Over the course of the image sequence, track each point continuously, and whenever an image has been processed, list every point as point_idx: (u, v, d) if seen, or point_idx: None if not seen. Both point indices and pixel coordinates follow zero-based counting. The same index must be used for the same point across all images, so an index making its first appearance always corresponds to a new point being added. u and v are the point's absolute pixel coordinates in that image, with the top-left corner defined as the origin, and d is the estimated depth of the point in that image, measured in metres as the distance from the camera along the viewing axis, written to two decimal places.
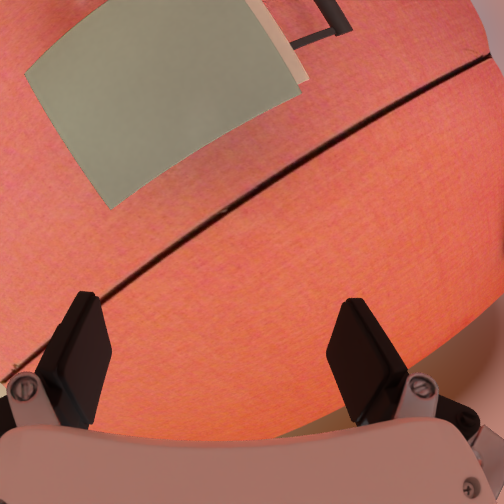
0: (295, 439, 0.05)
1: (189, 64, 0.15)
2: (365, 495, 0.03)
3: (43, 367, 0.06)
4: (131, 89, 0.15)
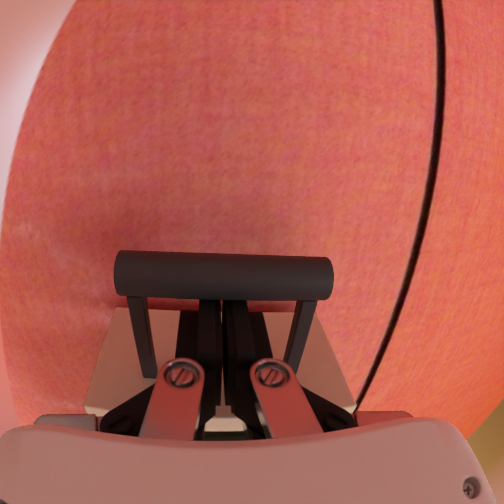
0: (295, 439, 0.05)
1: None
2: (365, 495, 0.03)
3: (202, 349, 0.08)
4: None
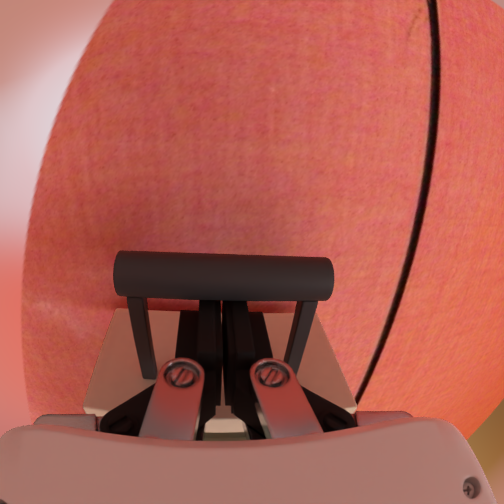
0: (295, 439, 0.05)
1: None
2: (365, 495, 0.03)
3: (202, 349, 0.08)
4: None
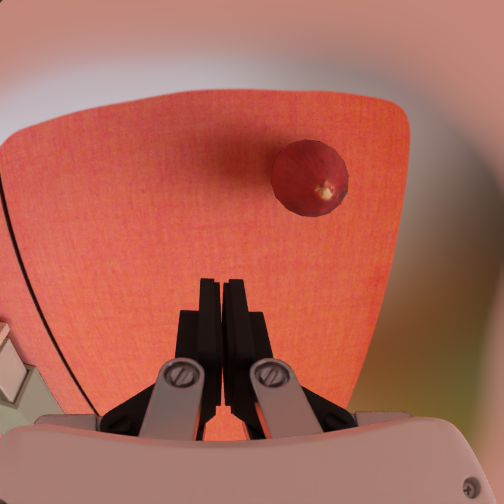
0: (295, 439, 0.05)
1: (8, 421, 0.27)
2: (365, 495, 0.03)
3: (202, 349, 0.08)
4: None
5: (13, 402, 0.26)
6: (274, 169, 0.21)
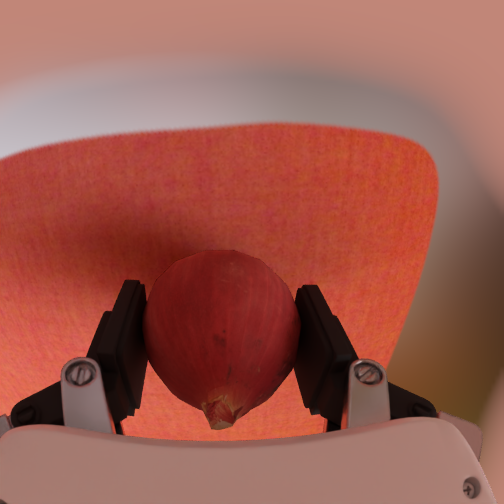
0: (295, 439, 0.05)
1: None
2: (365, 495, 0.03)
3: (101, 351, 0.07)
4: None
5: None
6: (142, 320, 0.10)
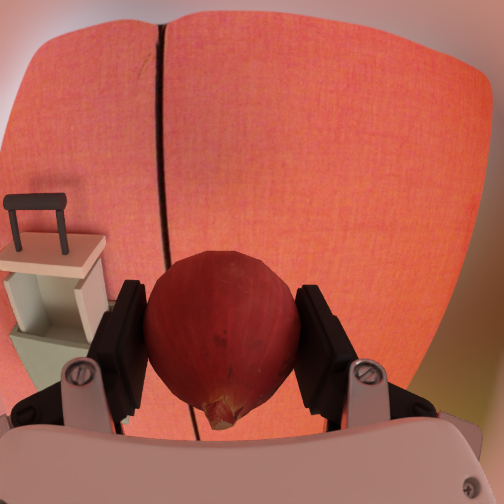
0: (295, 439, 0.05)
1: None
2: (365, 495, 0.03)
3: (101, 351, 0.07)
4: None
5: None
6: (143, 321, 0.10)
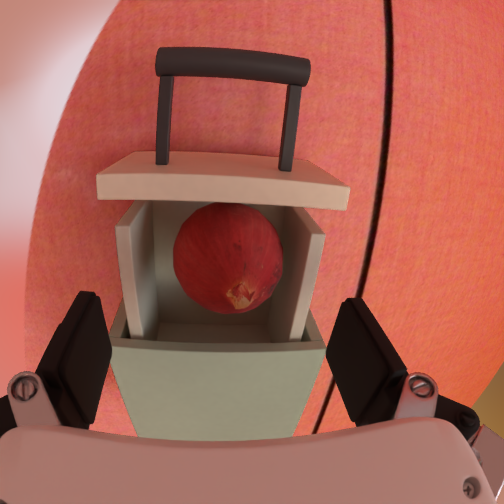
0: (295, 439, 0.05)
1: (235, 404, 0.18)
2: (365, 495, 0.03)
3: (44, 367, 0.06)
4: (223, 430, 0.19)
5: (299, 339, 0.17)
6: (174, 251, 0.15)
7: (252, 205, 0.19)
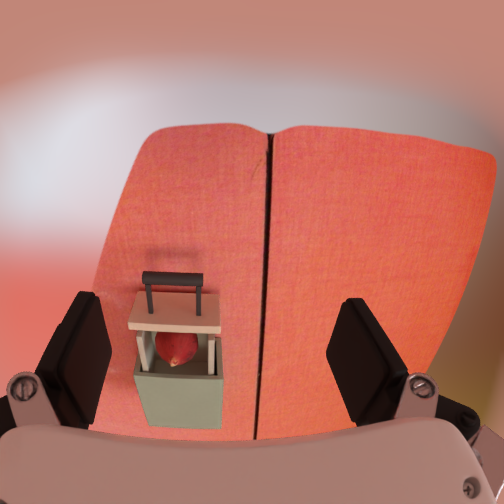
0: (295, 439, 0.05)
1: (188, 399, 0.40)
2: (365, 495, 0.03)
3: (43, 367, 0.06)
4: (185, 411, 0.41)
5: (213, 374, 0.39)
6: (155, 339, 0.37)
7: None
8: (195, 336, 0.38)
